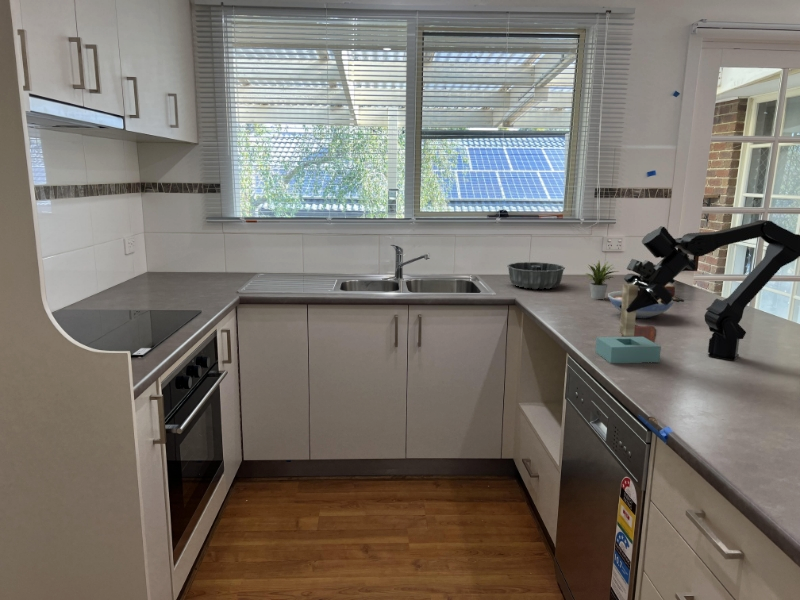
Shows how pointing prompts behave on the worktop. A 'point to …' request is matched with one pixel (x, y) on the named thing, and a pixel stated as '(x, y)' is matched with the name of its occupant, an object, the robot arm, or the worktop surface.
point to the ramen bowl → (646, 311)
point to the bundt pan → (535, 274)
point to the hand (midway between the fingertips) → (623, 309)
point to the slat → (626, 318)
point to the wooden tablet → (644, 332)
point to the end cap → (628, 349)
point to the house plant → (599, 281)
